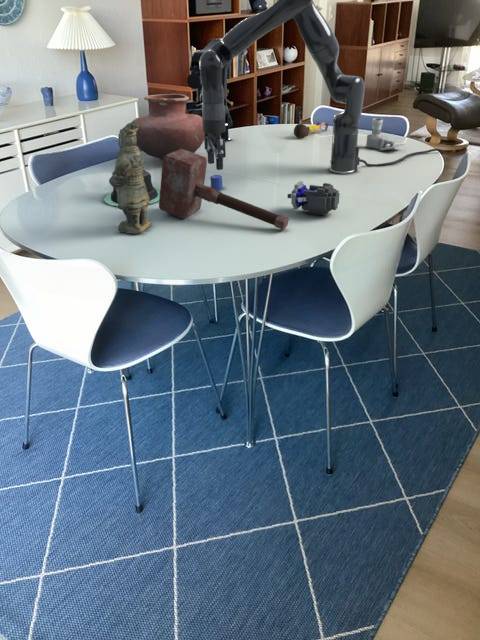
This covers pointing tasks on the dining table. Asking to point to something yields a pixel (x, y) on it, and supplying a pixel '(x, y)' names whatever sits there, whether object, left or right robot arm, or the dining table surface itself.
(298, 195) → the toy
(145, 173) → the chocolate cake
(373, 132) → the grey boot
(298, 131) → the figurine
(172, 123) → the clay pot
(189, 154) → the sledgehammer
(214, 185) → the canister
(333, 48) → the right robot arm
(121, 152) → the statue
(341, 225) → the dining table surface
